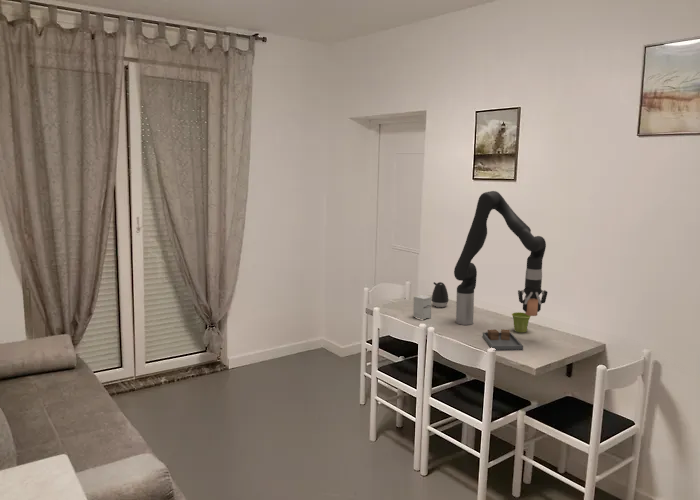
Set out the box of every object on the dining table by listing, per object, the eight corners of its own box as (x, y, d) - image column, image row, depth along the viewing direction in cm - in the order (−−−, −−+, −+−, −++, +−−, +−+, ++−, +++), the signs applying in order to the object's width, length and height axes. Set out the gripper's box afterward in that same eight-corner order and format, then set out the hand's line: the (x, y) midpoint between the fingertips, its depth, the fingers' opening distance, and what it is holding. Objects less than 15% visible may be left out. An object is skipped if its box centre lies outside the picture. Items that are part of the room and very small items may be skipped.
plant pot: (531, 329, 276) (532, 313, 274) (527, 334, 268) (528, 318, 266) (513, 327, 280) (514, 311, 279) (509, 332, 272) (509, 315, 271)
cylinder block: (523, 312, 260) (524, 296, 259) (535, 312, 260) (536, 296, 259) (527, 315, 255) (528, 299, 253) (539, 316, 255) (540, 299, 253)
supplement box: (422, 320, 293) (422, 298, 291) (412, 318, 299) (413, 296, 297) (431, 318, 298) (431, 296, 296) (421, 315, 303) (422, 294, 301)
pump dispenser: (438, 303, 330) (439, 279, 328) (451, 306, 322) (452, 282, 320) (427, 306, 323) (428, 282, 321) (440, 309, 316) (441, 284, 313)
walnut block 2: (500, 337, 263) (501, 329, 262) (509, 337, 262) (509, 329, 261) (501, 339, 259) (501, 331, 258) (509, 340, 258) (509, 332, 257)
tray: (482, 336, 265) (482, 332, 265) (510, 336, 265) (510, 332, 265) (492, 350, 246) (493, 345, 245) (522, 350, 246) (523, 345, 245)
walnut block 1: (487, 337, 262) (487, 329, 261) (495, 337, 263) (495, 329, 262) (490, 340, 258) (491, 332, 257) (498, 339, 259) (498, 331, 258)
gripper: (545, 275, 258) (543, 309, 261) (516, 275, 258) (514, 309, 261) (551, 279, 251) (549, 313, 254) (521, 279, 251) (519, 313, 254)
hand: (531, 311), depth 257 cm, fingers closed on cylinder block, 5 cm apart
